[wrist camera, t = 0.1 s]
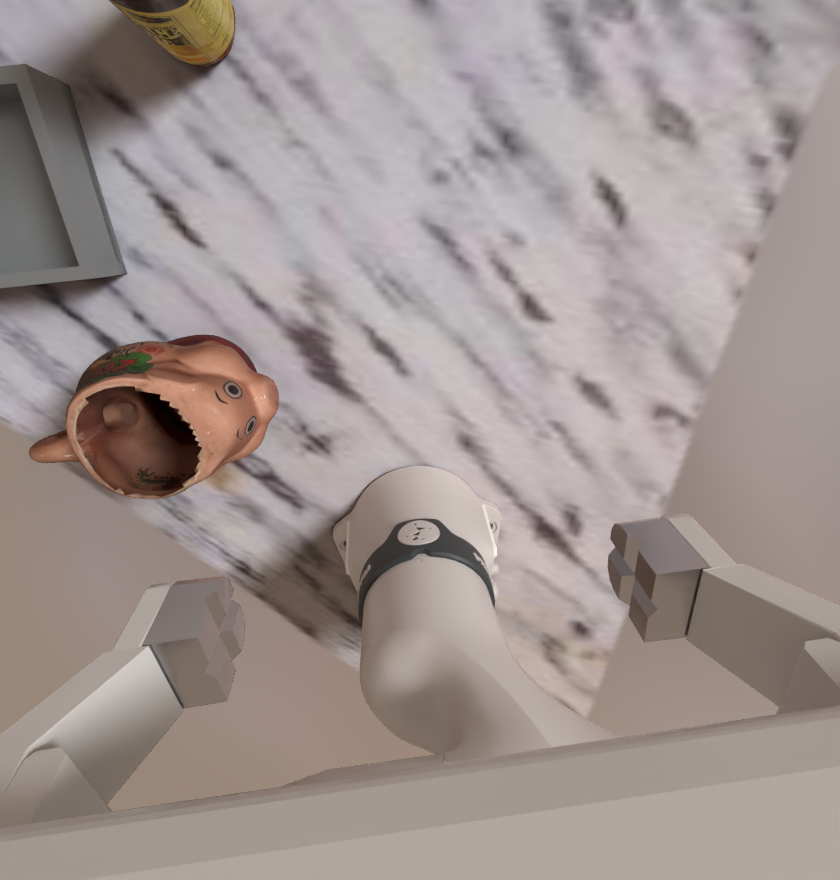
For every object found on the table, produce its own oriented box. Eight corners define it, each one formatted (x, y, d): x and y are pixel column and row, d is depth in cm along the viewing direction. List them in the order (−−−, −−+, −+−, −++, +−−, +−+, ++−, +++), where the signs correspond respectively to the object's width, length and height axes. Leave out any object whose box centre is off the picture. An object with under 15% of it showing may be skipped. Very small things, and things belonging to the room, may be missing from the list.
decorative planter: (134, 473, 51) (51, 553, 38) (65, 364, 46) (-58, 413, 33) (315, 411, 50) (291, 472, 37) (262, 292, 45) (214, 314, 32)
